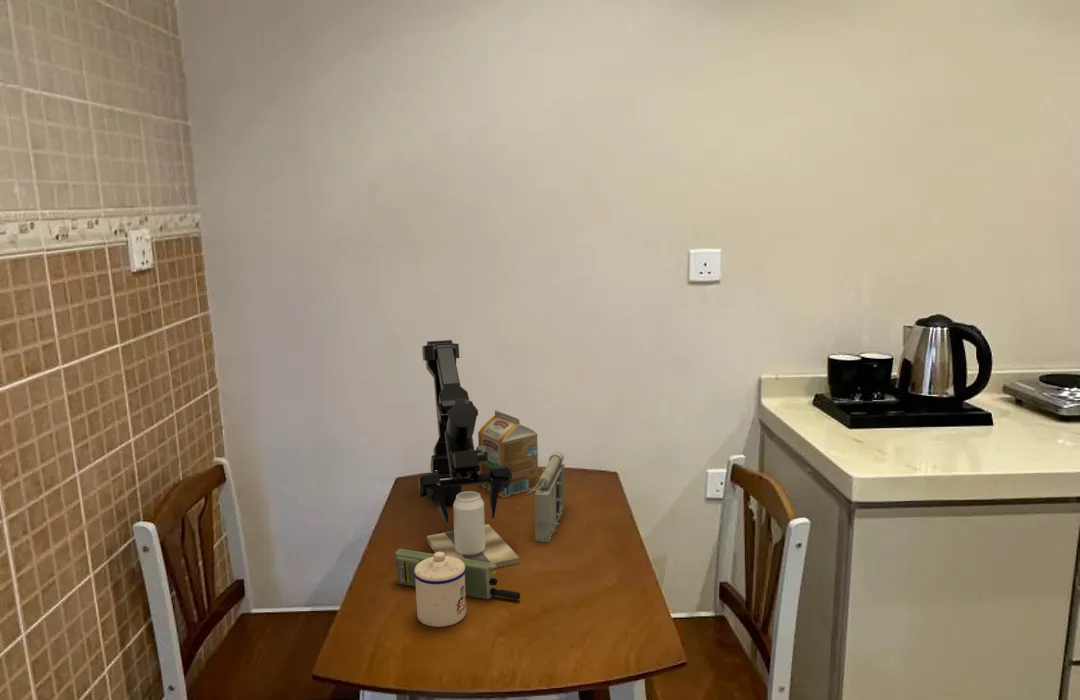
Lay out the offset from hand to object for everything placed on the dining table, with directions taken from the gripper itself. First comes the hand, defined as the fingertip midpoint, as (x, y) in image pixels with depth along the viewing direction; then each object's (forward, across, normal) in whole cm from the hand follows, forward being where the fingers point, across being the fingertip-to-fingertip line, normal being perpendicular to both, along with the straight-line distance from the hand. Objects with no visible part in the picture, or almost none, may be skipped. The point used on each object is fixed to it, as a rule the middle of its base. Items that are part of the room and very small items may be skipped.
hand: (470, 520), depth 160 cm
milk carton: (-20, +15, +33) cm, 42 cm away
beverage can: (+4, 0, +6) cm, 8 cm away
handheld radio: (+15, -4, -2) cm, 15 cm away
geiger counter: (-5, +20, +18) cm, 28 cm away
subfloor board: (+3, +1, +9) cm, 10 cm away
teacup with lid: (+19, -8, -6) cm, 22 cm away
